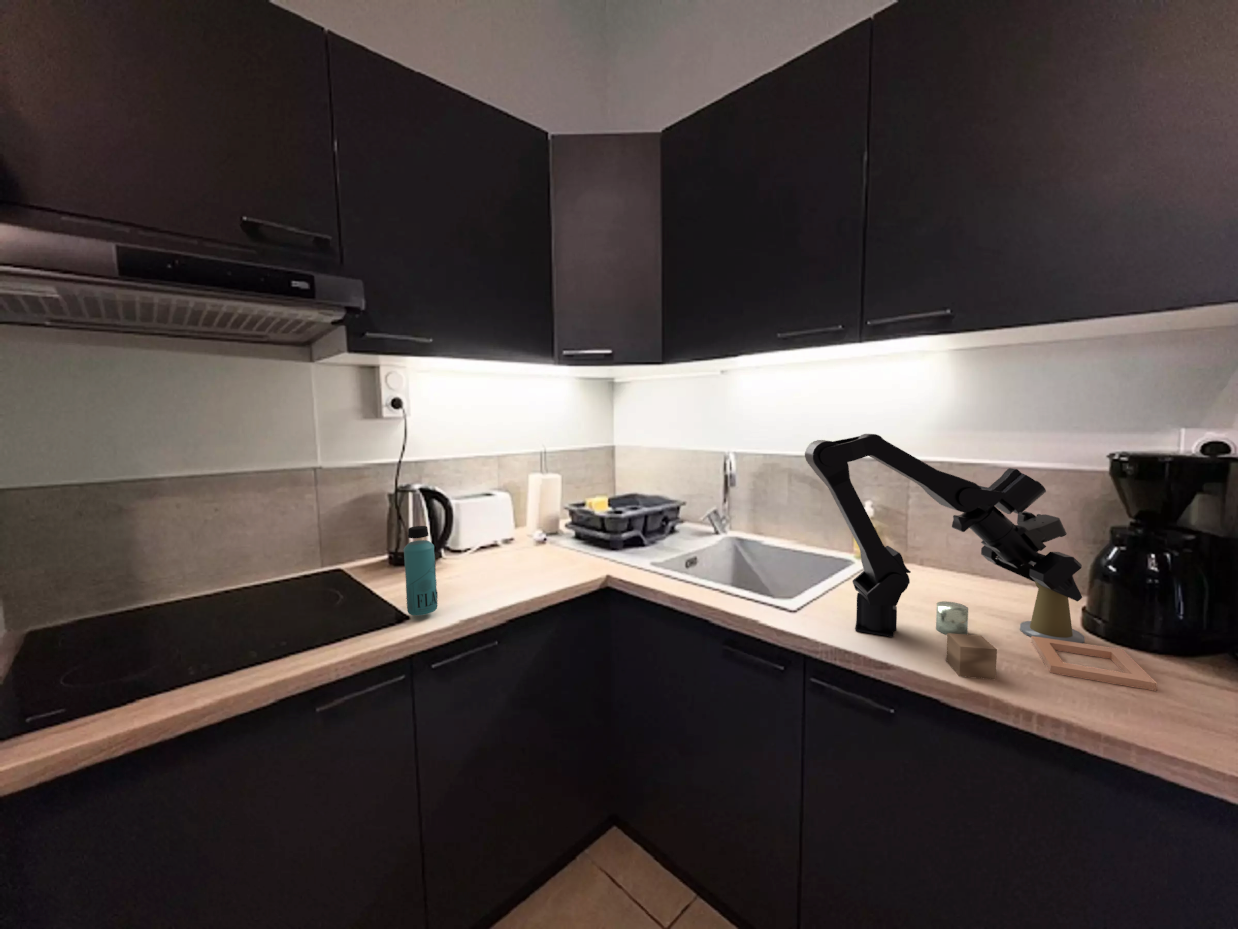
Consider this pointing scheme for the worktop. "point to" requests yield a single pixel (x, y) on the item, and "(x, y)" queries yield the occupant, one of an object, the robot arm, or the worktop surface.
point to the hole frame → (1129, 676)
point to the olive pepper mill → (1051, 614)
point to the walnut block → (971, 656)
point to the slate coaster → (1028, 631)
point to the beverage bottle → (420, 573)
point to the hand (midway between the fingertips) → (1059, 590)
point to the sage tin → (951, 618)
